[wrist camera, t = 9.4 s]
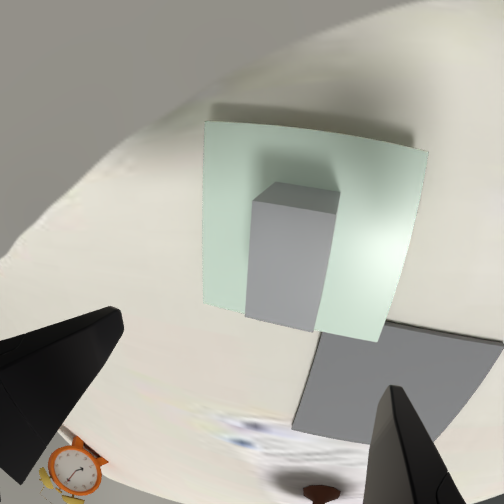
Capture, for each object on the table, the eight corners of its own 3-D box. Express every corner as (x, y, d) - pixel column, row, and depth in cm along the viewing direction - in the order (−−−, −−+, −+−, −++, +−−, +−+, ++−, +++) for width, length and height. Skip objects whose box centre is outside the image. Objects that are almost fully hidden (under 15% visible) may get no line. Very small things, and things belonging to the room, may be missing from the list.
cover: (425, 150, 14) (450, 163, 10) (377, 334, 19) (376, 387, 15) (210, 121, 17) (165, 125, 13) (208, 297, 22) (175, 337, 18)
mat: (502, 342, 18) (504, 346, 17) (425, 446, 24) (425, 450, 24) (328, 309, 21) (327, 313, 21) (292, 425, 28) (291, 429, 27)
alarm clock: (114, 465, 57) (74, 520, 40) (107, 466, 60) (70, 517, 43) (72, 431, 56) (28, 484, 39) (68, 433, 59) (27, 482, 42)
